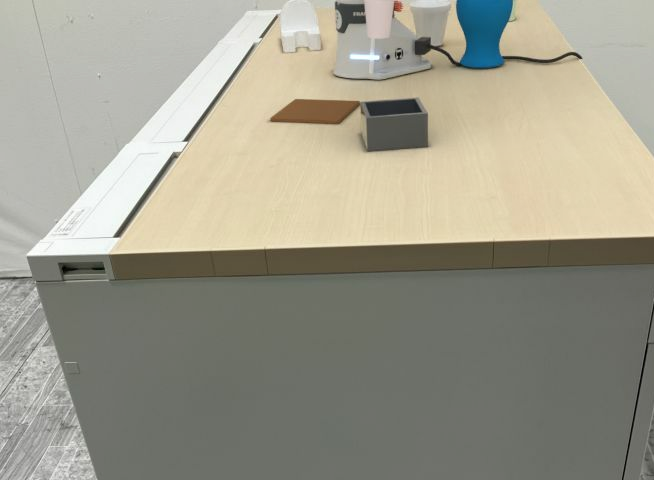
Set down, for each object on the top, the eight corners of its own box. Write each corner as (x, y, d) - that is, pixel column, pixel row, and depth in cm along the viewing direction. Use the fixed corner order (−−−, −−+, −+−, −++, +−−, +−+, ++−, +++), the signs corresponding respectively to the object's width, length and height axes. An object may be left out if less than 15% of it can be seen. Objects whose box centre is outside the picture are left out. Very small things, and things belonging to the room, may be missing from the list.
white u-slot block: (316, 35, 222) (313, -9, 216) (321, 49, 208) (318, 3, 202) (281, 38, 222) (276, -6, 215) (283, 52, 208) (279, 6, 201)
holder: (361, 133, 151) (360, 101, 148) (418, 129, 152) (418, 97, 148) (367, 151, 143) (366, 117, 140) (427, 146, 144) (427, 113, 140)
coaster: (295, 101, 171) (295, 98, 170) (359, 104, 167) (359, 100, 167) (270, 121, 161) (270, 118, 160) (338, 123, 157) (338, 120, 157)
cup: (455, 42, 208) (457, -1, 202) (442, 51, 201) (442, 7, 195) (419, 40, 211) (419, -2, 205) (404, 49, 204) (403, 6, 198)
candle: (496, 21, 225) (497, -14, 220) (496, 18, 229) (498, -17, 224) (514, 21, 224) (516, -14, 219) (515, 17, 228) (517, -17, 223)
